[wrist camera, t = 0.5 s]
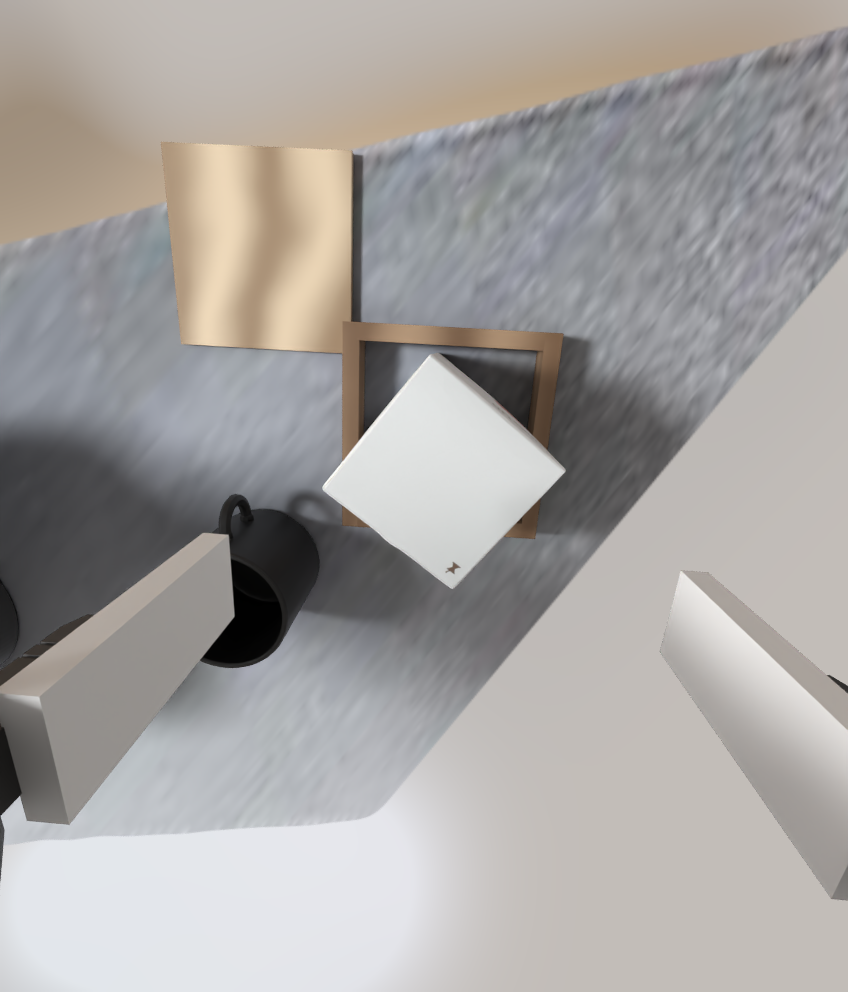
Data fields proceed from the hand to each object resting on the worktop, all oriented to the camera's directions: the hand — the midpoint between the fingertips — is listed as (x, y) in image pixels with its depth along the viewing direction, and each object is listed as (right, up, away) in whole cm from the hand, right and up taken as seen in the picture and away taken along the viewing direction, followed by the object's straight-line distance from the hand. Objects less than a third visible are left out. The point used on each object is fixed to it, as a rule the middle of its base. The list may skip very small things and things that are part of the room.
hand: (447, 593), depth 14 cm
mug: (-15, -1, +27) cm, 31 cm away
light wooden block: (-12, +20, +20) cm, 31 cm away
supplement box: (+1, +8, +24) cm, 25 cm away
